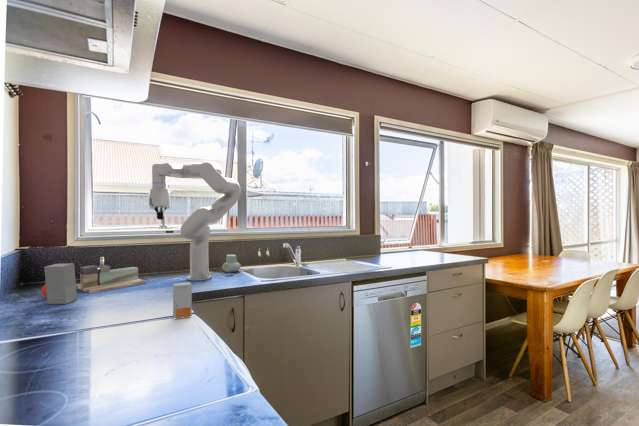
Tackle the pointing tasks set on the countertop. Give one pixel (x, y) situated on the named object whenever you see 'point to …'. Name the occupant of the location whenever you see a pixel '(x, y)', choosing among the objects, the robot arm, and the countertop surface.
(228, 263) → the air freshener
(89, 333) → the countertop surface
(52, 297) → the skincare box
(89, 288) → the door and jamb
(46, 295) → the clementine
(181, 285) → the skincare box
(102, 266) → the bolt
